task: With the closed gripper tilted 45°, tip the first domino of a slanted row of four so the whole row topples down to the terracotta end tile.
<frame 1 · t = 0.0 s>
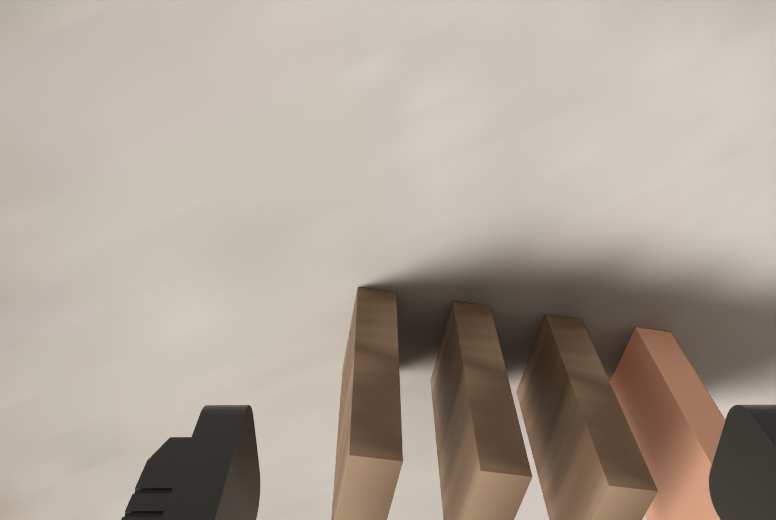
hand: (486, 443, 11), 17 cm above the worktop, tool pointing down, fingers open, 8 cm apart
domino 4: (634, 368, 33), on the worktop
domino 2: (459, 345, 32), on the worktop
domino 1: (368, 332, 31), on the worktop
domino 3: (548, 357, 32), on the worktop
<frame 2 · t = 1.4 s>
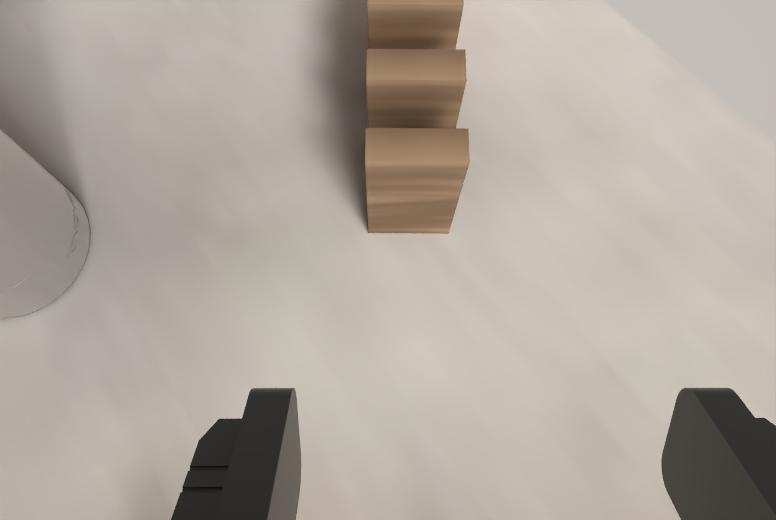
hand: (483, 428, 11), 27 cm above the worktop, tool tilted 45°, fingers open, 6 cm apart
domino 2: (407, 154, 42), on the worktop
domino 1: (408, 219, 41), on the worktop
domino 3: (407, 94, 44), on the worktop
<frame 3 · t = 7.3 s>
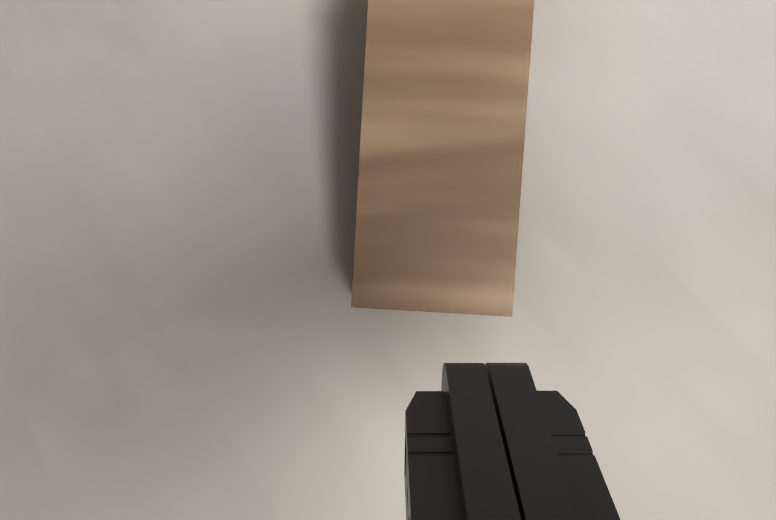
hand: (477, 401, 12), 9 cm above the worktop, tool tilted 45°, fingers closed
domino 1: (429, 307, 21), point 1 cm above the worktop, tilted 69°, touching domino 2
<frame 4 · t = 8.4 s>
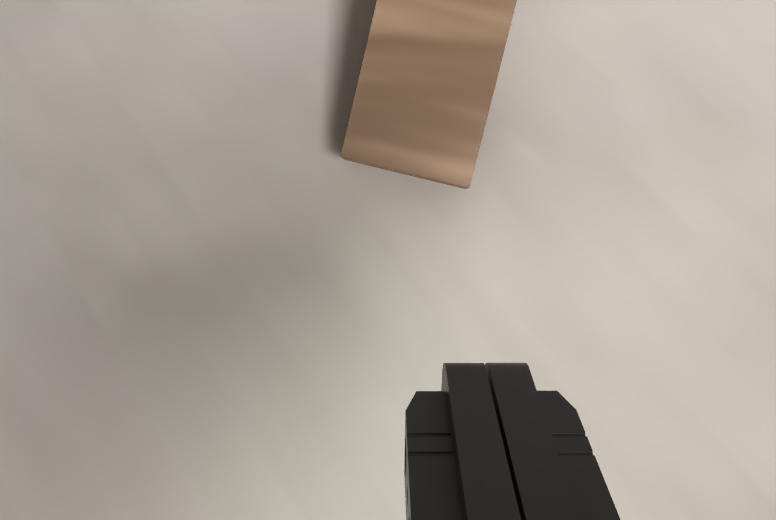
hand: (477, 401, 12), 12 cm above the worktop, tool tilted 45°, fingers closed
domino 1: (404, 172, 25), point 1 cm above the worktop, tilted 68°
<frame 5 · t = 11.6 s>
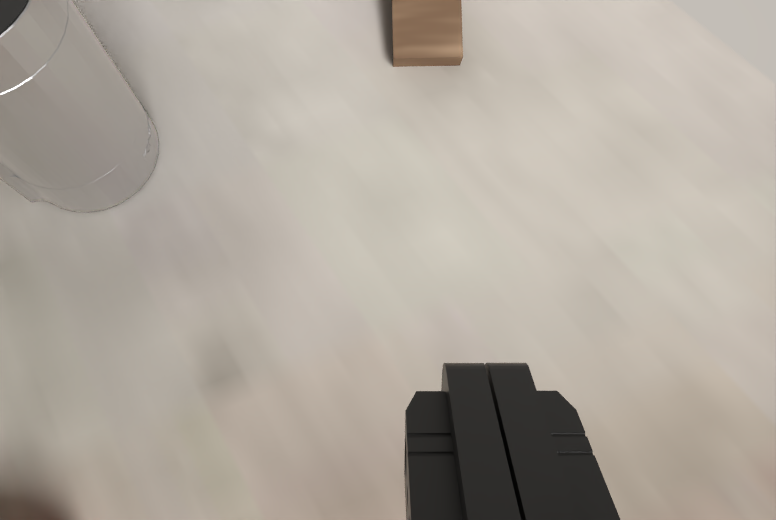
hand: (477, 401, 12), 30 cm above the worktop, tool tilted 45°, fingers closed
domino 1: (427, 61, 48), point 1 cm above the worktop, tilted 74°, touching domino 2
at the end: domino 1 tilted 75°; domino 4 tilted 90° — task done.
